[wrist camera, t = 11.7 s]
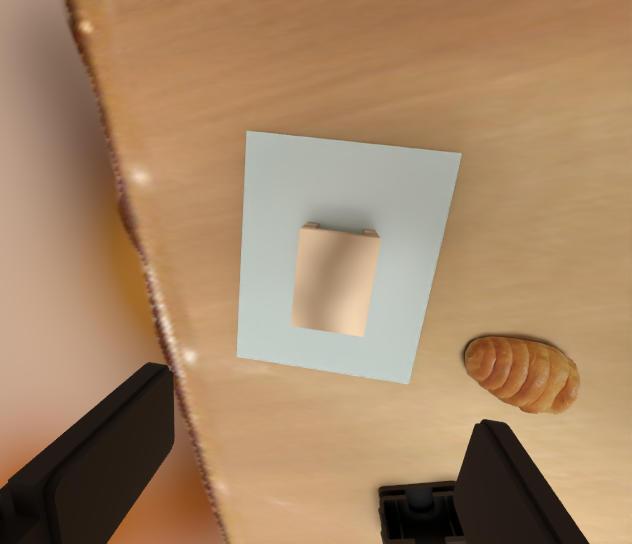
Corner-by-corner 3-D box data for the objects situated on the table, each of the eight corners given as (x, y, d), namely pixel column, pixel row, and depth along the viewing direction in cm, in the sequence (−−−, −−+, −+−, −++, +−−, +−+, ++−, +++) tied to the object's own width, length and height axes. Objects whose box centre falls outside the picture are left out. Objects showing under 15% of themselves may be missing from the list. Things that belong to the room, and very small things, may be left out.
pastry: (448, 374, 31) (462, 399, 27) (477, 317, 29) (497, 335, 25) (534, 404, 30) (560, 433, 27) (570, 349, 29) (603, 372, 25)
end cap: (384, 530, 37) (392, 602, 30) (373, 486, 35) (379, 553, 29) (468, 525, 35) (495, 600, 29) (461, 479, 34) (488, 548, 27)
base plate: (457, 154, 25) (475, 148, 21) (406, 378, 31) (414, 401, 27) (250, 132, 26) (236, 124, 23) (239, 351, 32) (227, 370, 29)
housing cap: (374, 229, 26) (380, 238, 21) (361, 312, 28) (363, 337, 24) (308, 221, 27) (299, 228, 22) (299, 303, 29) (290, 326, 24)
